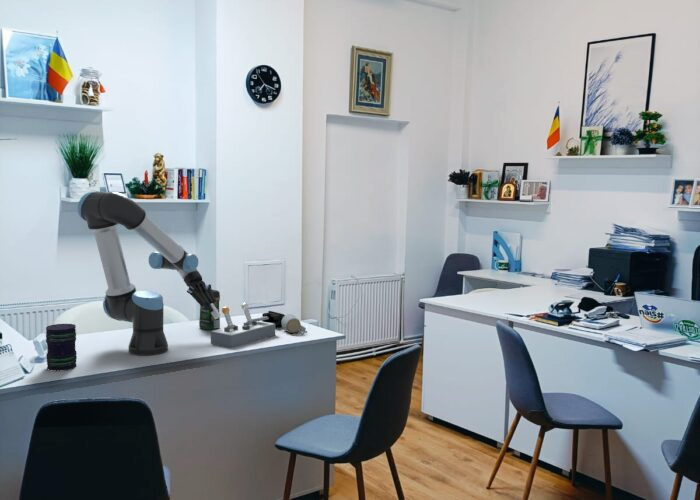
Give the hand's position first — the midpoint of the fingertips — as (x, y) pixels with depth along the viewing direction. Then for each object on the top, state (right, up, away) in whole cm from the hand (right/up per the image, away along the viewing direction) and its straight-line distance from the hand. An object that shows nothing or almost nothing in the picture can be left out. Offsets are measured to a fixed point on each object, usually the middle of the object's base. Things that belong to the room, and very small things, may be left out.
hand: (217, 317), depth 268 cm
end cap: (+21, -8, +31) cm, 38 cm away
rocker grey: (+17, -2, +11) cm, 20 cm away
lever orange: (+7, -4, -4) cm, 9 cm away
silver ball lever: (+13, -3, +6) cm, 15 cm away
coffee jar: (-9, -8, +23) cm, 26 cm away
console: (+11, -10, +3) cm, 15 cm away
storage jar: (-47, -14, -44) cm, 66 cm away
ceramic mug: (+31, -9, +20) cm, 38 cm away
